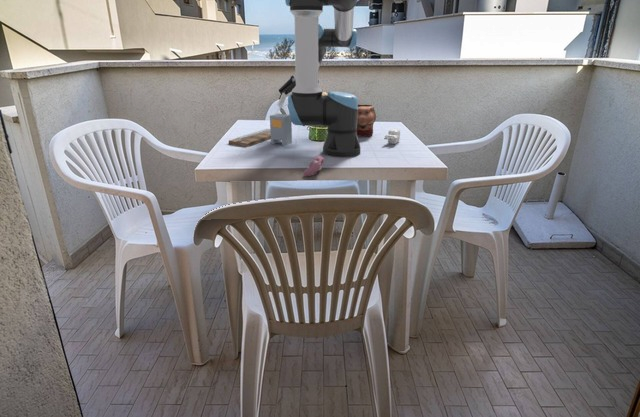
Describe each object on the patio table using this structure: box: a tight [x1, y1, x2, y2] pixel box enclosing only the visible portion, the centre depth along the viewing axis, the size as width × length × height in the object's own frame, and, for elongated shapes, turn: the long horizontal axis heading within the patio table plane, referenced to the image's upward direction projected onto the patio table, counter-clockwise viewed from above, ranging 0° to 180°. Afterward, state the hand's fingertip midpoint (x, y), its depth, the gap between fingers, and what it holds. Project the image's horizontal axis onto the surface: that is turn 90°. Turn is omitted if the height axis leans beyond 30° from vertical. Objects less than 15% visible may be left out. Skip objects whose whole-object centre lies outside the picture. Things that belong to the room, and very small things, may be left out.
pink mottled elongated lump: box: [303, 155, 325, 177], centre depth 140 cm, size 10×5×7 cm, turn 169°
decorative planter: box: [357, 104, 377, 137], centre depth 195 cm, size 20×12×14 cm, turn 1°
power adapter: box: [384, 128, 401, 145], centre depth 179 cm, size 11×5×6 cm, turn 152°
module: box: [269, 113, 293, 146], centre depth 178 cm, size 6×7×12 cm
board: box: [228, 133, 271, 148], centre depth 185 cm, size 24×10×2 cm, turn 151°
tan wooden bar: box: [236, 128, 271, 142], centre depth 185 cm, size 22×2×2 cm, turn 151°
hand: (292, 107), depth 183 cm, fingers open, 13 cm apart
